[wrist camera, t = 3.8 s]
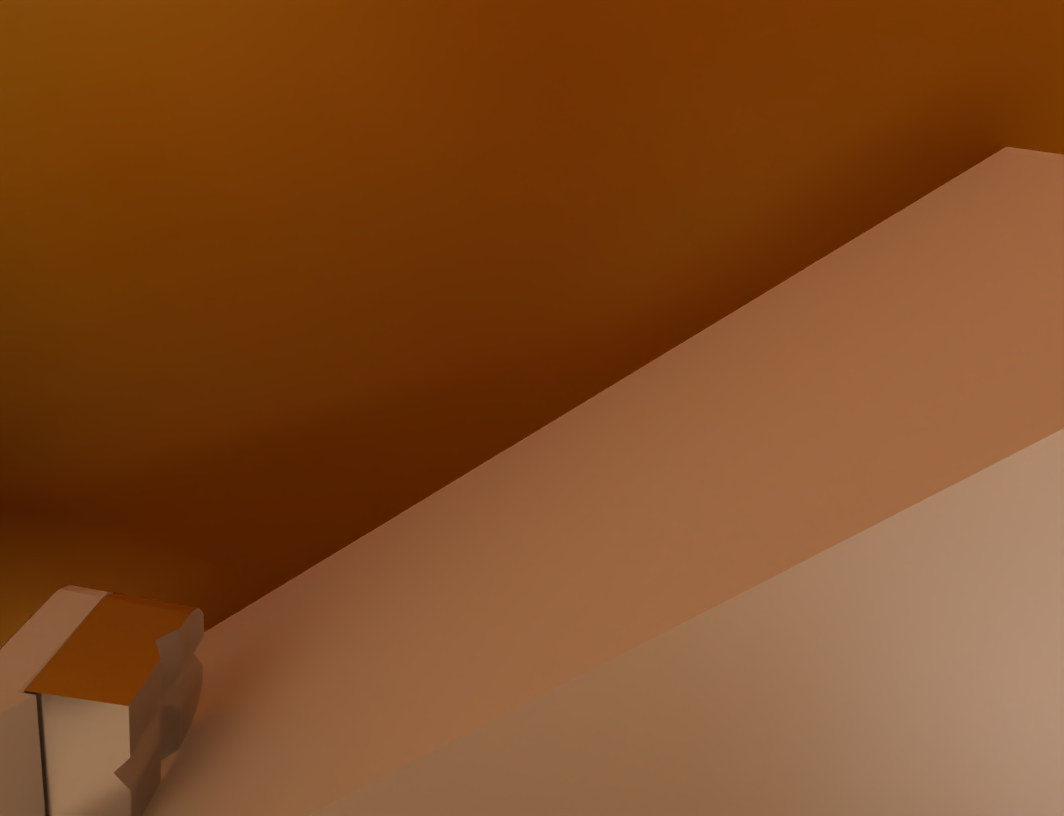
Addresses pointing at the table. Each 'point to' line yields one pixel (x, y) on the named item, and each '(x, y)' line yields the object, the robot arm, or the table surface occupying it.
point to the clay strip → (711, 572)
